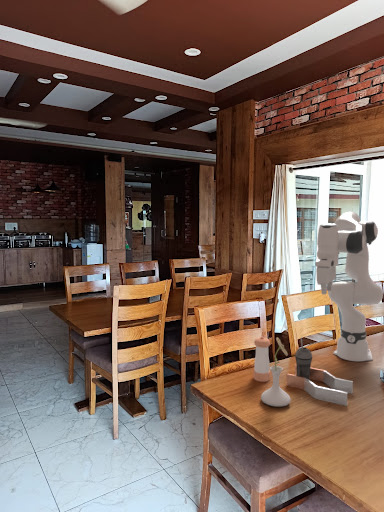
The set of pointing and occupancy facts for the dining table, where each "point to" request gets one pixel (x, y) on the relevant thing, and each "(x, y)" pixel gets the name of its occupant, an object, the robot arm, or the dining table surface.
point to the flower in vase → (276, 385)
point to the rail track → (330, 395)
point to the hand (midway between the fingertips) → (326, 292)
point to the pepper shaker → (261, 360)
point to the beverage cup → (303, 361)
